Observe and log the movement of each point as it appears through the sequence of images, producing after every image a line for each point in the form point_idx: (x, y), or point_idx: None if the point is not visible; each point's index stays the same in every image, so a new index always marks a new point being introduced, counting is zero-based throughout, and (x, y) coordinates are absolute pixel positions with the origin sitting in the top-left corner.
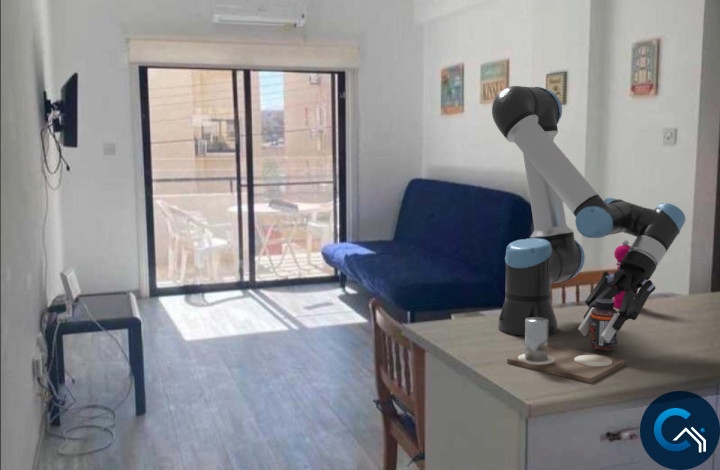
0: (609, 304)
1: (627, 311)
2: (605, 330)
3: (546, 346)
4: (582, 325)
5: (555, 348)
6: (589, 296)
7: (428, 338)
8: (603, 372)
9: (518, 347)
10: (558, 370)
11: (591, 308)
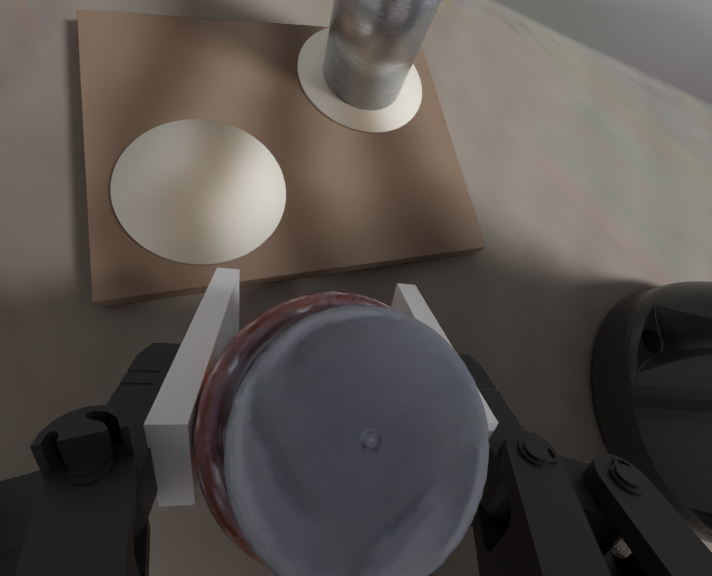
0: (239, 386)
1: None
2: (220, 292)
3: (333, 21)
4: (409, 299)
5: (415, 224)
6: (701, 556)
7: (676, 95)
8: (83, 103)
9: (516, 191)
10: (225, 22)
11: (487, 408)
